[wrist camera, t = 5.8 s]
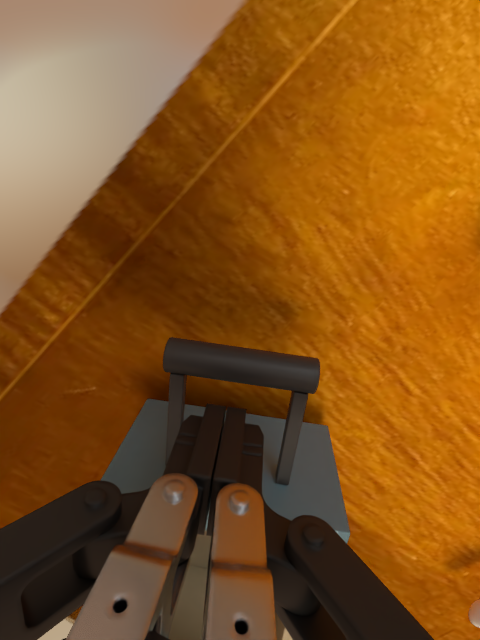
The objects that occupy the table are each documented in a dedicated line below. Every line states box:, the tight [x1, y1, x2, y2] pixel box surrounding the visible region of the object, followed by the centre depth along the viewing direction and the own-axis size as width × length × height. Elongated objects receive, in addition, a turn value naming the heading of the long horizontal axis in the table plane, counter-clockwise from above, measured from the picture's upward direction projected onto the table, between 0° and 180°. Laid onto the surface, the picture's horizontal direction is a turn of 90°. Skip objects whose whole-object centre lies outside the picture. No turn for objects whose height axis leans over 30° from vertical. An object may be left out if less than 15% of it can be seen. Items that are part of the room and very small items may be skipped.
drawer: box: [101, 337, 350, 640], centre depth 19 cm, size 19×10×7 cm, turn 173°
